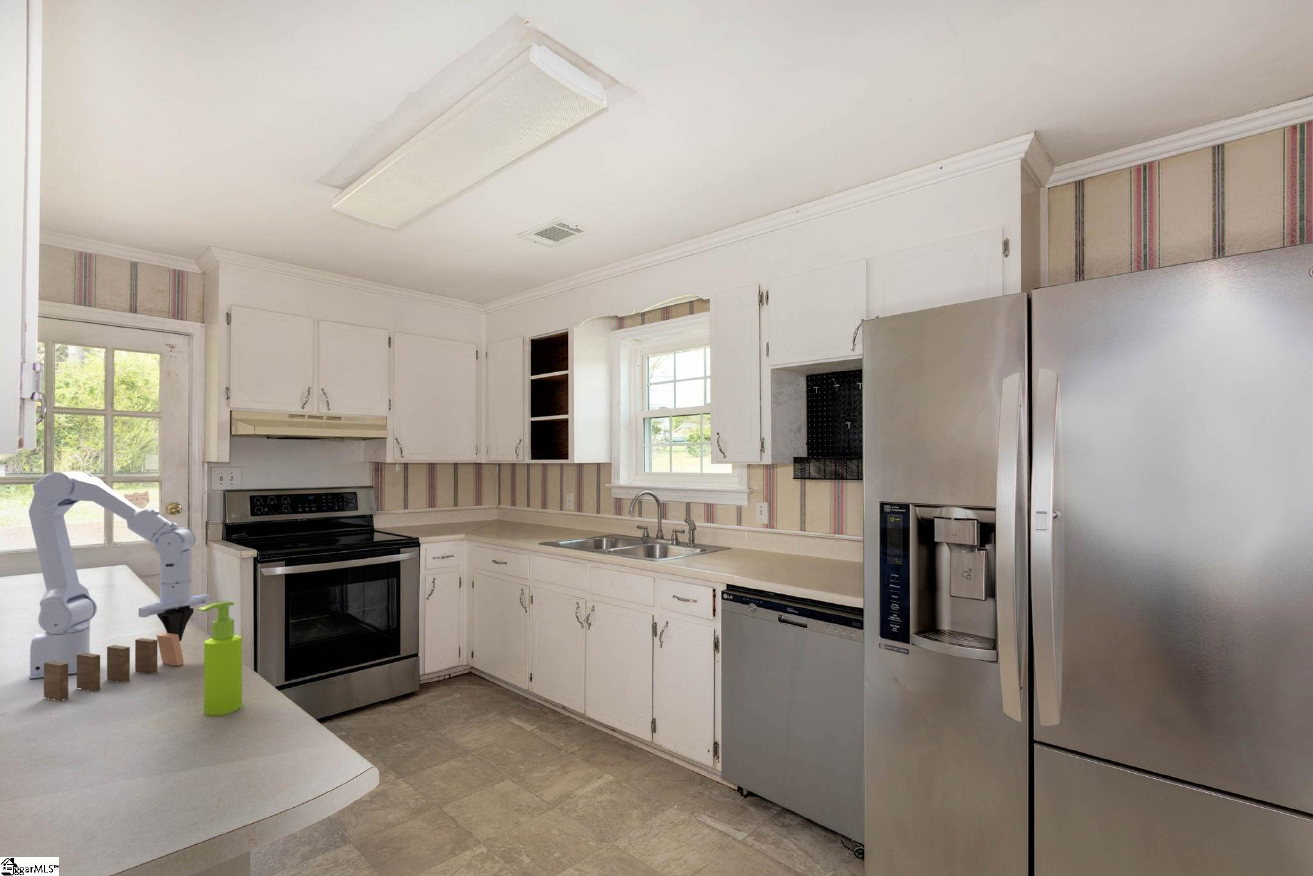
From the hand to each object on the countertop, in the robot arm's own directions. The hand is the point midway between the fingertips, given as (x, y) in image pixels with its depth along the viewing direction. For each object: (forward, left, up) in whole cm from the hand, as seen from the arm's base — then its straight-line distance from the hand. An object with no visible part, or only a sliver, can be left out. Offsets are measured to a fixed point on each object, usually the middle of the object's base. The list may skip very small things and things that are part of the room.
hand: (175, 641), depth 151 cm
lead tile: (0, -1, -5) cm, 5 cm away
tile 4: (-12, -12, -5) cm, 18 cm away
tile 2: (-4, -5, -5) cm, 8 cm away
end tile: (-16, -16, -5) cm, 23 cm away
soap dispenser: (+15, -38, -5) cm, 41 cm away
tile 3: (-8, -8, -5) cm, 13 cm away
